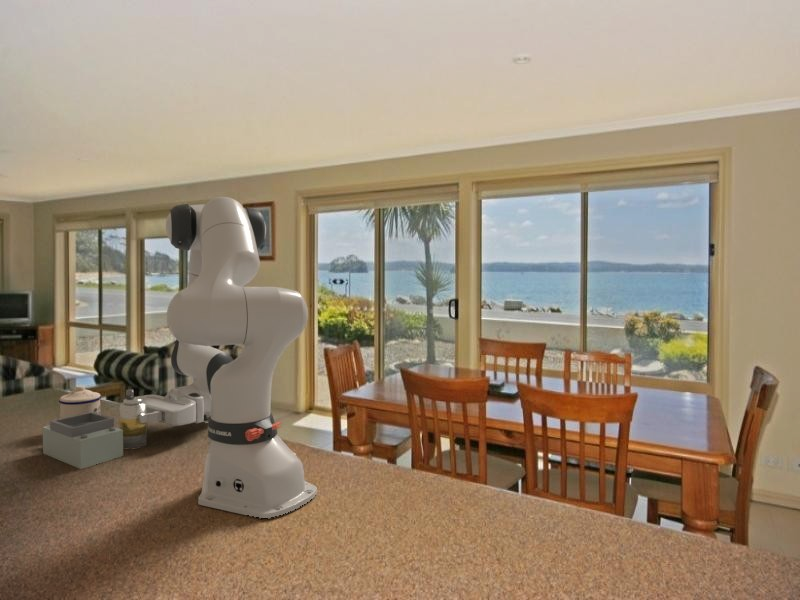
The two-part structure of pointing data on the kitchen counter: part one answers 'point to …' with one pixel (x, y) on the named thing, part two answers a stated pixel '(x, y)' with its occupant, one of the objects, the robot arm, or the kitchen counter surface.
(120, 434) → the block
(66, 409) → the teacup with lid
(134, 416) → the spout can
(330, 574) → the kitchen counter surface
